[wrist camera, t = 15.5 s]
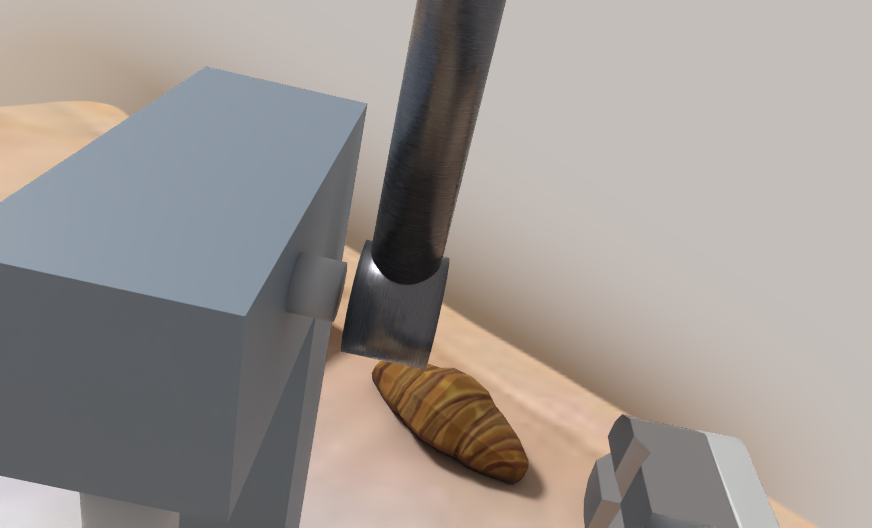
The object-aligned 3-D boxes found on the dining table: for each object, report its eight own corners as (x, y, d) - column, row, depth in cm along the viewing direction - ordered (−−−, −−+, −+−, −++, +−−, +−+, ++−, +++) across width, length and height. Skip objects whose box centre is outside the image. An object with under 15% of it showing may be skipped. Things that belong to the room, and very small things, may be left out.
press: (242, 1041, 23) (363, 517, 10) (-54, 986, 22) (-329, 372, 10) (350, 550, 39) (448, 113, 26) (181, 514, 39) (196, 55, 26)
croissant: (341, 399, 50) (350, 345, 48) (402, 363, 55) (414, 312, 52) (490, 517, 44) (510, 461, 41) (544, 463, 49) (565, 411, 46)
